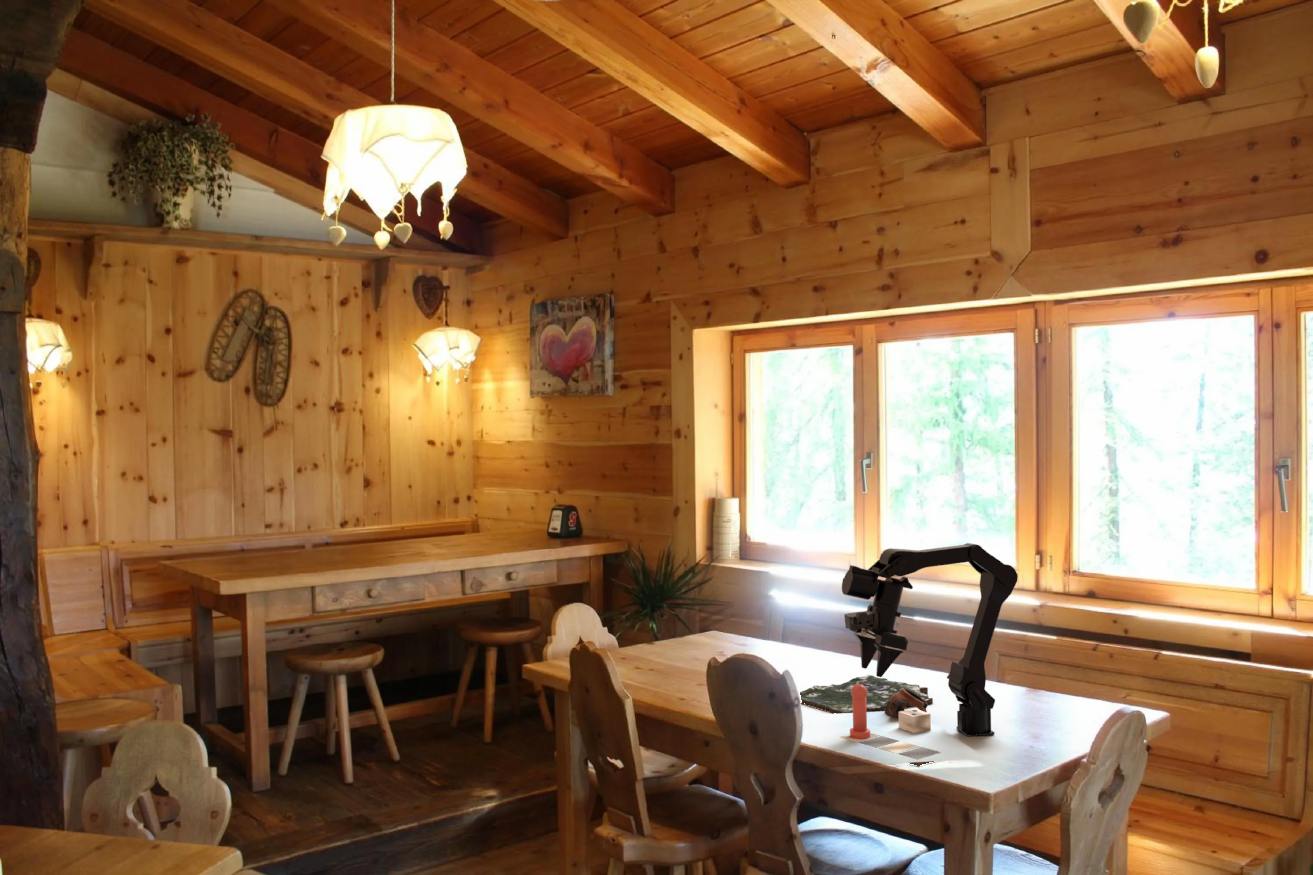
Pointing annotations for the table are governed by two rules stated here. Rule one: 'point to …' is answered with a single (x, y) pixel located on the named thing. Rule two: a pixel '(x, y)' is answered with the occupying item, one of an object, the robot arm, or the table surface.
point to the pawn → (859, 713)
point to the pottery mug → (904, 702)
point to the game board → (896, 747)
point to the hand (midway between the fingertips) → (871, 672)
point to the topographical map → (842, 700)
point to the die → (914, 720)
